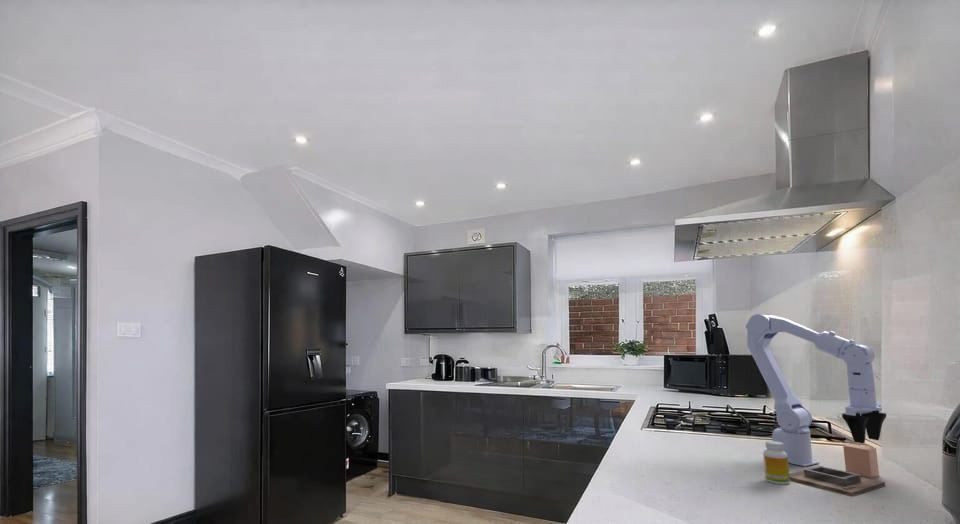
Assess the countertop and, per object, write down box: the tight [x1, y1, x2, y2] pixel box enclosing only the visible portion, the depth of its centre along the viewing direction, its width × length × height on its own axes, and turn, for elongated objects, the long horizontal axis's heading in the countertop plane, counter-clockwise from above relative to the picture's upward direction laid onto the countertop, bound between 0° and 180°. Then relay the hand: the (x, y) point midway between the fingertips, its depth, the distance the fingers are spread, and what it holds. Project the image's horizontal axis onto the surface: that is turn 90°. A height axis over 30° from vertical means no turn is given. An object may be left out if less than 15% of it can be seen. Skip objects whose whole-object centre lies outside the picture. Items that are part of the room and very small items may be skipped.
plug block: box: [843, 443, 880, 479], centre depth 133 cm, size 6×4×7 cm, turn 29°
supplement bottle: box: [762, 440, 791, 485], centre depth 127 cm, size 5×5×10 cm
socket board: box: [789, 465, 886, 497], centre depth 126 cm, size 16×16×2 cm
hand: (866, 440), depth 132 cm, fingers open, 7 cm apart
